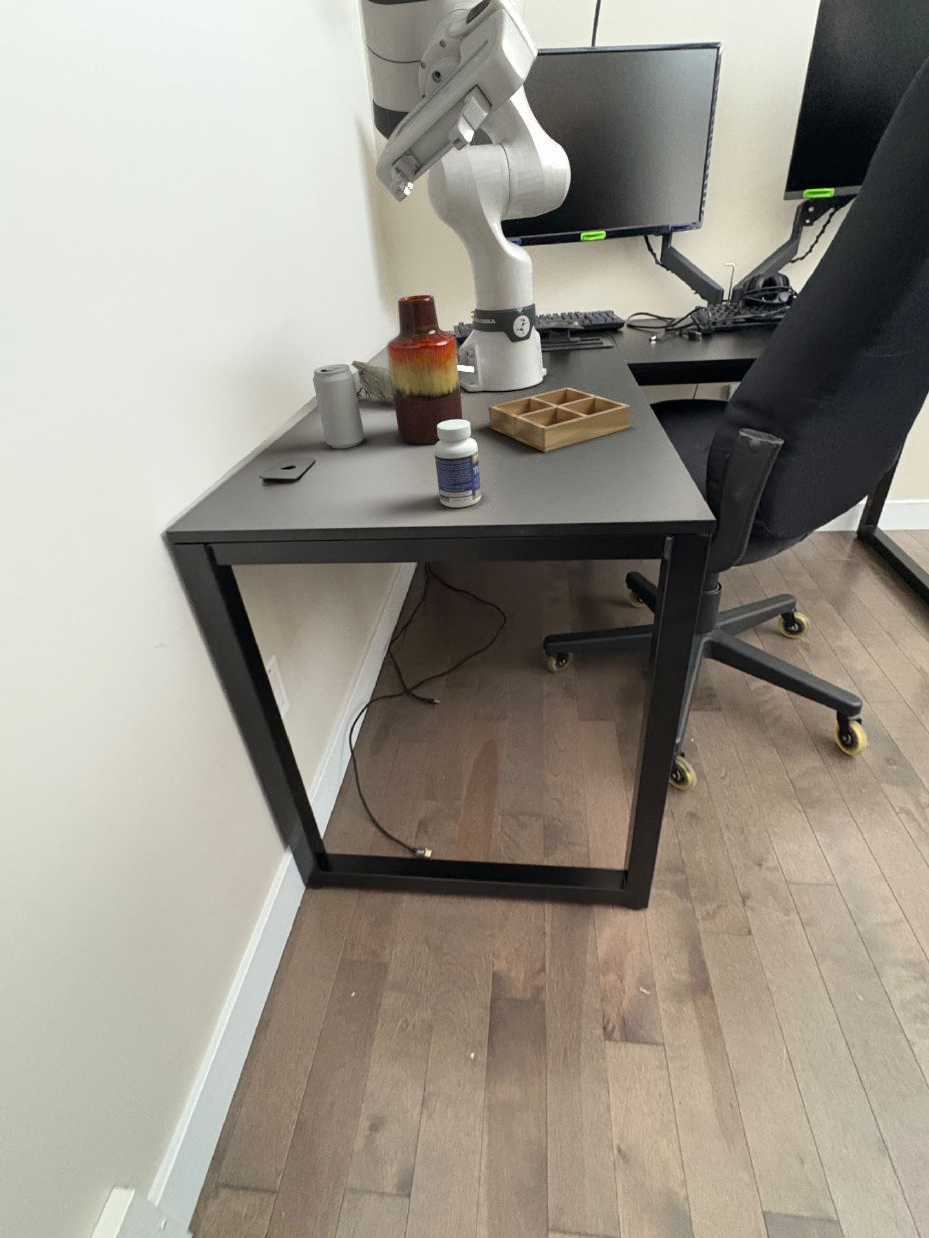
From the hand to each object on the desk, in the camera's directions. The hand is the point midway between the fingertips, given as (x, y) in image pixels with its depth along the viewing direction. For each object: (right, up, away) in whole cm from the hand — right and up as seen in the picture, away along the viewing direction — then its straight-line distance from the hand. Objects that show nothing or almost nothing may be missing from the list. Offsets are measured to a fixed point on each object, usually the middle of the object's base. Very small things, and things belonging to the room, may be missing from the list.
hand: (426, 168), depth 61 cm
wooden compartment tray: (+19, -15, +36) cm, 44 cm away
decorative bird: (-11, -3, +58) cm, 59 cm away
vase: (-2, -15, +39) cm, 42 cm away
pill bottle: (+3, -31, +16) cm, 35 cm away
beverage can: (-16, -17, +39) cm, 45 cm away
